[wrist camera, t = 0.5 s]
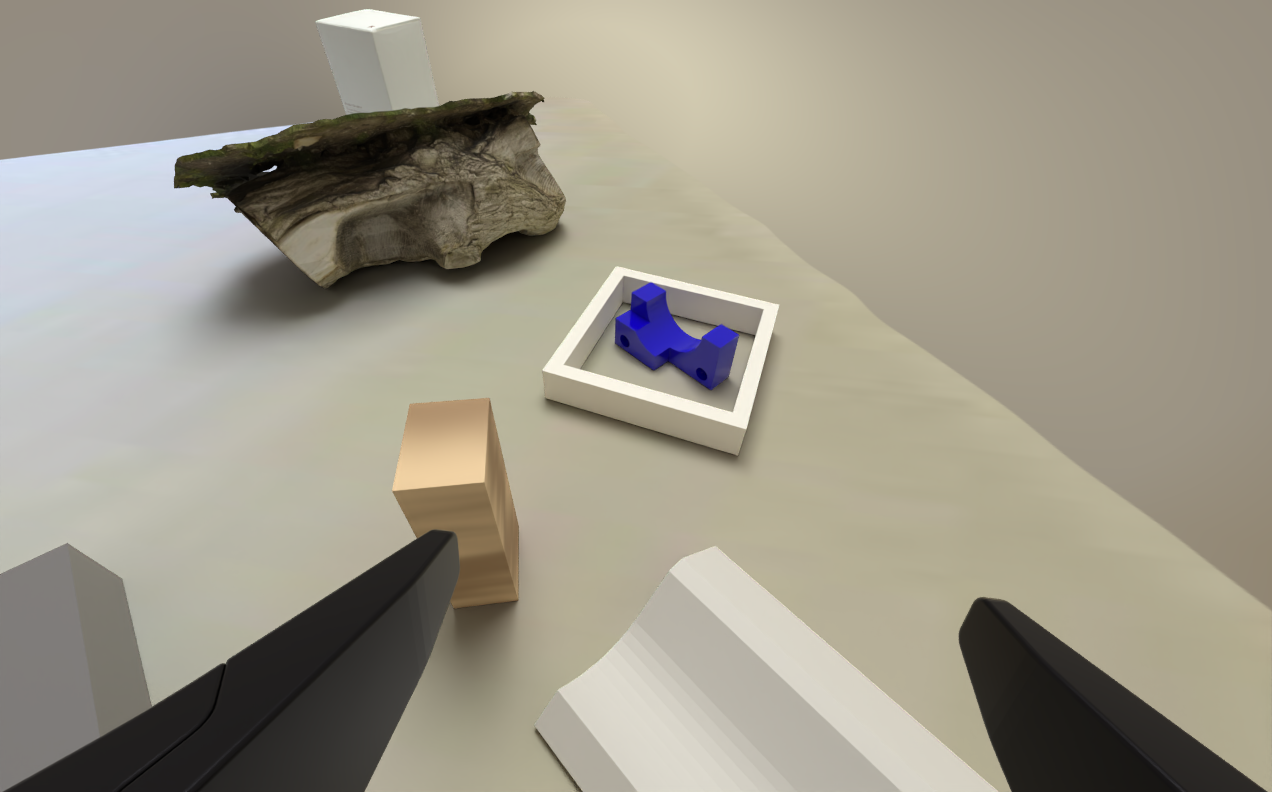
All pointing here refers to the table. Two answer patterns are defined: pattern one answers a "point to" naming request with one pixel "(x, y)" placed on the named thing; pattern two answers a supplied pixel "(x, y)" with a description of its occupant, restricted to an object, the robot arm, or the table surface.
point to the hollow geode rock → (389, 185)
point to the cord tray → (651, 405)
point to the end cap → (63, 660)
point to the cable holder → (673, 339)
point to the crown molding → (737, 703)
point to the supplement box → (378, 61)
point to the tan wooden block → (462, 494)
